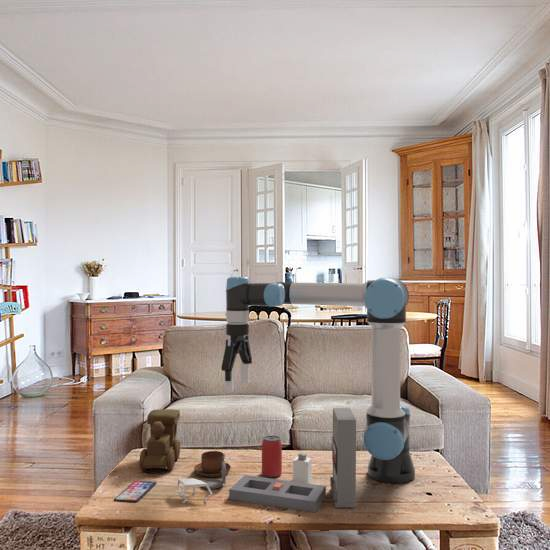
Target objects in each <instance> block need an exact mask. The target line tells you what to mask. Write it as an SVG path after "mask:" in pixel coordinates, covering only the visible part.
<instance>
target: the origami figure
mask: <svg viewBox="0 0 550 550" xmlns="http://www.w3.org/2000/svg"><path fill="white" fill-rule="evenodd" d="M203 481H204V480H200V479H196V478H193V477H192V478H191V477H190V478H177V490H178V491H179V494H178V496H179V497H180V498H183V499H184V500H183V501H181V503H182V504H183V503H186V502H187V501H188V500H189V498H188V497H187V496H185V495H184V494H185V493H186V491H187V490H188V489H189V488H192V495H193V496H194V495H195V491H196V488H198V487H203V486H206V487H207V488H208V489H207V488H206V489H207V490H208V493H209V494H208V495H207V496H206V497H205V498H204V499H205V500H204V501H205V503H206V502H208V498H210V497H211V496H212V495H213V492H212V489H210V488H209V486H208V485H207V484H206V483H205V482H203ZM180 484H182V485H183V489H182V491H181V488H180Z"/></svg>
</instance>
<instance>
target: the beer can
mask: <svg viewBox="0 0 550 550" xmlns="http://www.w3.org/2000/svg"><path fill="white" fill-rule="evenodd" d="M262 438H263V439H262V443H261V474H262V476H264V477H265V478H278V477H279V476H281V475H282V474H283V473H282V472H283V471H282V470H283V468H282V467H283V466H282V465H283V464H282V461H283V450H282V449H283V445H282V441H281V437H280V436H278V435H266V436H264V437H262Z"/></svg>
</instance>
